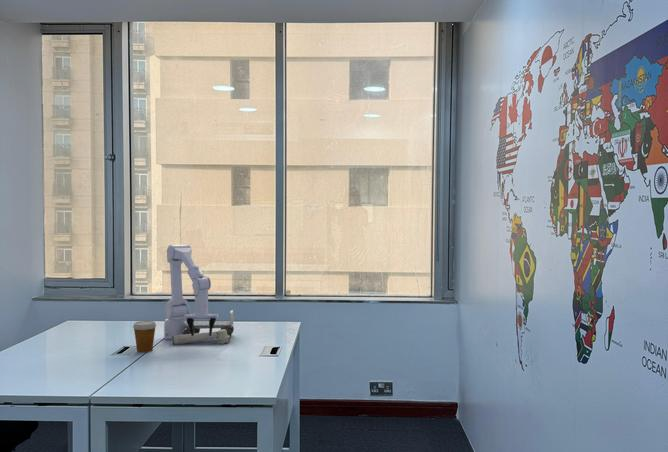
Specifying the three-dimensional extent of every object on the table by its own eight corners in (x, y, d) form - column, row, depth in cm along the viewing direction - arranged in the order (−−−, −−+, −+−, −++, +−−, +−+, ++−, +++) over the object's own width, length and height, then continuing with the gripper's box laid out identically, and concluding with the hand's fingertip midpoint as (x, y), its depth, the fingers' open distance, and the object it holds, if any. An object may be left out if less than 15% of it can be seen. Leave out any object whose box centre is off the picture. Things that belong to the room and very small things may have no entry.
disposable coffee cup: (149, 354, 237) (149, 325, 237) (128, 352, 239) (128, 324, 238) (160, 348, 246) (160, 321, 246) (140, 347, 248) (140, 320, 248)
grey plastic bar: (173, 334, 257) (228, 325, 260) (175, 349, 258) (230, 340, 261) (171, 337, 252) (227, 328, 255) (173, 351, 252) (230, 342, 255)
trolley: (182, 341, 259) (182, 314, 259) (187, 335, 272) (187, 309, 271) (231, 341, 261) (231, 313, 261) (233, 335, 274) (233, 309, 273)
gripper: (183, 306, 245) (183, 337, 246) (217, 306, 247) (217, 337, 247) (185, 303, 252) (185, 334, 253) (219, 303, 254) (218, 333, 254)
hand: (201, 335), depth 250 cm, fingers open, 7 cm apart
